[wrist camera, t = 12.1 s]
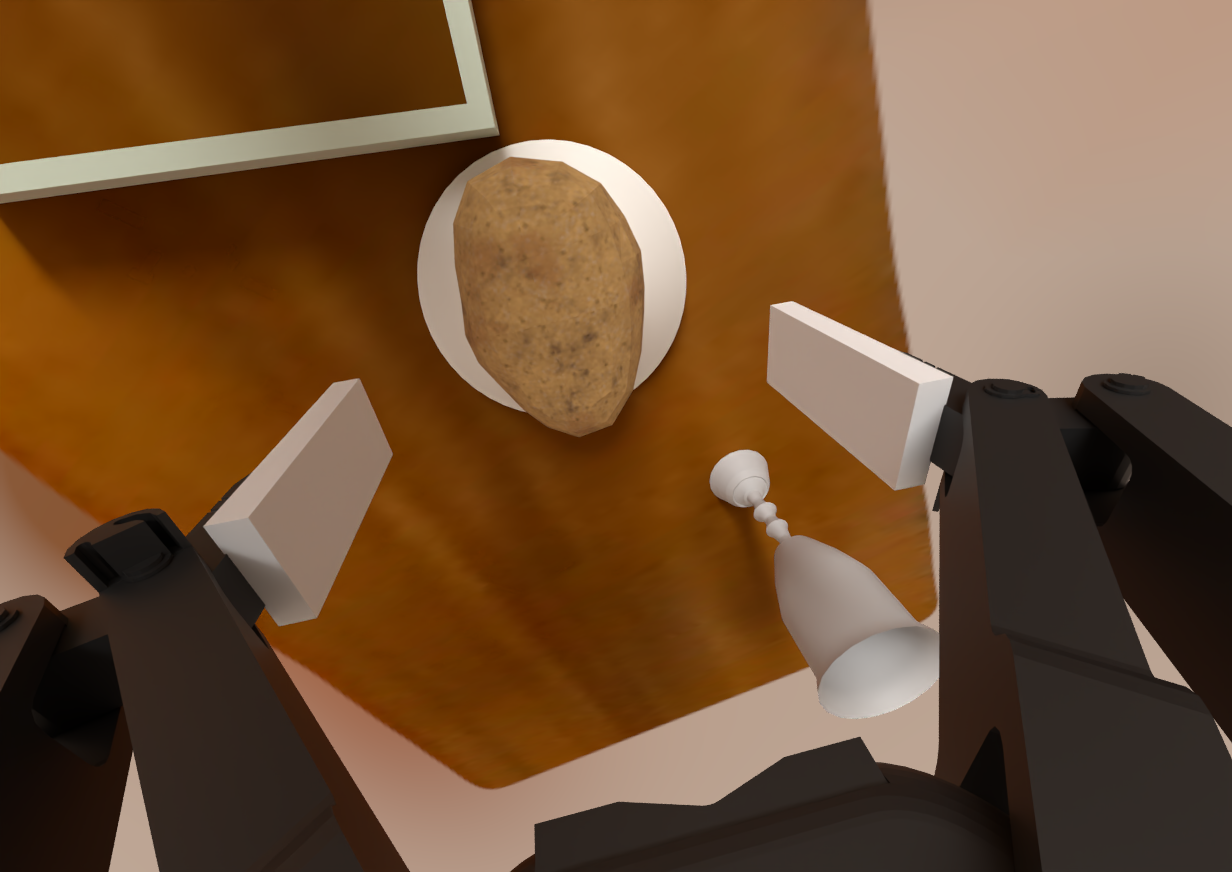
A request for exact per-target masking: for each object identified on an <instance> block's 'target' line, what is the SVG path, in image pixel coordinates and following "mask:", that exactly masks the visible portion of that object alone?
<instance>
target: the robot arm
mask: <svg viewBox="0 0 1232 872" xmlns="http://www.w3.org/2000/svg"><path fill="white" fill-rule="evenodd" d="M767 382H768V383H769V384H770V385H771V386H772V387H773V388H775V389H776V390H777V391H778V392H779V393H780V394H782V395H783V396H784V397H785V398H786V399H788V400H789V401H790V402H791V403H792V404H793V405H795V406H796V407H797V408H798V409H799V410H800V411H802V412H803V413H804V414H805V415H806V416H808V417H809V418H810V419H811V420H812V421H813V422H815V423H816V424H817V425H818V426H819V427H821V428H822V429H823V430H824V431H825V432H826V433H828V434H829V435H830V436H831V437H832V438H833V439H835V440H836V441H837V442H838V443H839V444H841V445H842V446H843V447H844V448H845V449H846V450H848V451H849V452H850V453H851V454H852V455H853V456H855V457H856V458H857V459H858V460H859V461H861V462H862V463H863V464H864V465H865V466H866V467H868V468H869V469H870V470H871V471H872V472H874V473H875V474H876V475H877V476H878V477H879V478H881V479H882V480H883V481H884V482H885V483H886V484H888V485H889V486H890V487H891V488H892V489H894V490H900V489H904V488H909V487H913V486H918V485H922V484H925V481H926V478H927V474H928V470H929V466H930V463H931V462H932V463H934V464H935V465H937V466H938V467H940V468H941V469H942V470H944V472H943V476H942V479H941V483H940V486H939V489H938V493H937V496H936V500H935V503H934V507H933V510H932V511H937V512H938V511H939V509H940V568H939V569H940V570H939V572H940V573H939V574H940V575H939V577H940V578H939V581H940V582H939V750H938V759H937V765H936V770H935V775H934V776H933V775H931V774H928V773H925V772H922V771H918V770H915V769H912V768H908V767H905V766H898V765H893V764H888V763H881V762H875V761H874V759H873V758H872V756H871V754H870V752H869V751H868V749H867V747H866V746H865V744H864V742H863V741H862V739H861V737H857V738H853V739H850V740H846V741H842V742H839V743H835V744H831V745H828V746H824V747H820V748H817V749H813V750H809V751H805V752H801V753H798V754H794V755H790V756H787V757H784V758H782V759H781V760H779V761H778V762H776V763H775V764H774V765H772V766H770V767H769V768H767V769H766V770H764V771H763V772H761V773H760V774H758V775H757V776H755V777H754V778H752V779H751V780H749V781H748V782H746V783H745V784H743V785H742V786H740V787H739V788H737V789H736V790H734V791H733V792H732V793H730V794H728V795H727V796H725V797H724V798H722V799H721V800H719V801H718V802H716V803H714V804H711V805H707V806H694V805H673V804H651V803H630V802H616V803H612V804H609V805H605V806H601V807H597V808H594V809H590V810H586V811H583V812H579V813H575V814H571V815H568V816H564V817H560V818H557V819H553V820H549V821H545V822H542V823H538V824H535V854H534V855H532V856H531V857H529V858H527V859H526V860H524V861H523V862H521V863H520V864H519V865H518V866H517V867H515V868H514V869H513V870H512V871H511V872H1232V759H1231V756H1230V754H1229V752H1228V750H1227V748H1226V745H1225V743H1224V741H1223V739H1222V736H1221V734H1220V732H1219V730H1218V727H1217V725H1216V723H1215V721H1216V722H1217V723H1218V725H1219V726H1220V727H1221V729H1222V730H1223V731H1224V733H1225V734H1226V735H1227V737H1228V738H1229V739H1230V741H1231V742H1232V427H1230V426H1229V425H1227V424H1225V423H1224V422H1222V421H1221V420H1219V419H1218V418H1216V417H1215V416H1213V415H1211V414H1210V413H1208V412H1206V411H1205V410H1204V409H1202V408H1201V407H1199V406H1197V405H1196V404H1194V403H1192V402H1191V401H1190V400H1188V399H1186V398H1185V397H1183V396H1182V395H1180V394H1178V393H1177V392H1175V391H1174V390H1172V389H1171V388H1169V387H1167V386H1165V385H1163V384H1160V383H1158V382H1155V381H1152V380H1148V379H1145V377H1142V376H1138V375H1131V374H1124V373H1119V374H1097V375H1091V376H1088V377H1085V378H1084V379H1083V381H1082V382H1081V385H1080V387H1079V389H1078V392H1077V394H1076V396H1075V397H1074V398H1048V397H1047V395H1046V394H1045V393H1044V392H1043V391H1042V390H1041V389H1039V388H1037V387H1035V386H1032V385H1029V384H1026V383H1023V382H1019V381H1014V380H1009V379H984V380H977V381H975V382H973V383H971V382H968V381H966V380H964V379H962V378H960V377H958V376H955V375H953V374H951V373H949V372H947V371H945V370H943V369H940V368H935V366H934V365H932V364H930V363H927V362H923V361H922V360H921V359H919V358H917V357H915V356H912V355H910V354H908V353H905V352H900V351H897V350H895V349H893V348H891V347H889V346H887V345H884V344H882V343H880V342H878V341H876V340H874V339H872V338H870V337H867V336H865V335H863V334H861V333H859V332H857V331H855V330H853V329H850V328H848V327H846V326H844V325H842V324H840V323H838V322H835V321H833V320H831V319H829V318H827V317H825V316H823V315H821V314H818V313H816V312H814V311H812V310H810V309H808V308H806V307H804V306H801V305H799V304H797V303H795V302H793V301H791V302H786V303H780V304H775V305H770V326H769V348H768V369H767ZM392 455H393V453H392V451H391V449H390V446H389V444H388V442H387V440H386V437H385V435H384V433H383V431H382V428H381V426H380V424H379V421H378V419H377V417H376V415H375V412H374V410H373V408H372V406H371V403H370V401H369V399H368V397H367V394H366V392H365V390H364V387H363V385H362V383H361V381H360V378H358V379H352V380H347V381H341V382H335V383H333V384H332V385H331V386H330V387H329V388H328V389H327V390H326V392H325V393H324V394H323V395H322V396H321V397H320V398H319V399H318V400H317V401H316V403H315V404H314V405H313V406H312V407H311V408H310V409H309V410H308V411H307V412H306V414H305V415H304V416H303V417H302V418H301V419H300V420H299V421H298V422H297V423H296V425H295V426H294V427H293V428H292V429H291V430H290V431H289V432H288V433H287V435H286V436H285V437H284V438H283V439H282V440H281V441H280V442H279V443H278V444H277V446H276V447H275V448H274V449H273V450H272V451H271V452H270V453H269V454H268V455H267V457H266V458H265V459H264V460H263V461H262V462H261V463H260V464H259V465H258V466H257V468H256V469H255V470H254V471H253V472H252V473H250V474H249V475H247V476H246V477H244V478H243V479H241V480H240V481H239V482H237V483H236V484H234V485H233V486H232V487H231V489H230V490H229V491H228V492H227V493H226V494H225V495H224V496H223V497H222V498H221V499H222V501H218V503H217V504H216V505H215V506H214V507H213V508H212V509H211V512H210V513H207V514H206V515H205V517H204V518H203V519H202V520H201V521H200V522H199V523H198V524H197V525H196V526H195V527H194V528H193V529H192V531H191V532H190V533H189V534H188V535H187V536H186V537H185V536H184V535H183V533H182V532H181V531H180V530H179V528H178V527H177V526H176V525H175V523H174V522H173V521H172V520H171V518H170V517H169V516H168V515H167V513H166V512H165V511H163V510H161V509H145V510H141V511H137V512H133V513H129V514H127V515H124V516H122V517H119V518H116V519H114V520H111V521H109V522H107V523H105V524H103V525H101V526H99V527H97V528H95V529H93V530H92V531H90V532H89V533H87V534H86V535H84V536H83V537H81V538H80V539H78V540H77V541H76V542H75V543H74V544H73V545H72V546H71V547H70V548H68V549H67V551H66V553H65V556H64V559H65V560H66V561H67V562H68V563H69V564H70V565H71V566H72V567H73V568H74V569H76V571H77V572H78V573H79V574H80V575H81V576H83V577H84V578H85V579H86V580H87V581H88V582H89V583H90V584H91V585H92V586H93V587H94V588H95V589H96V590H97V591H98V592H99V595H100V596H99V597H97V598H94V599H91V600H89V601H86V602H83V603H81V604H78V605H75V606H73V607H70V608H67V609H65V610H62V611H59V610H58V609H57V608H56V607H55V606H53V605H52V604H51V603H50V602H49V601H48V600H47V599H45V597H42V596H40V595H30V596H22V597H19V598H17V599H13V600H10V601H7V602H4V603H2V604H0V872H108V871H109V867H110V861H111V856H112V852H113V847H114V842H115V837H116V832H117V827H118V821H119V817H120V812H121V807H122V802H123V797H124V792H125V786H126V782H127V776H128V772H129V767H130V761H131V757H132V752H134V757H135V761H136V766H137V771H138V775H139V780H140V784H141V789H142V794H143V798H144V803H145V807H146V812H147V817H148V821H149V826H150V830H151V835H152V839H153V844H154V849H155V854H156V858H157V862H158V867H159V871H160V872H410V871H409V869H408V868H407V866H406V865H405V863H404V861H403V860H402V858H401V857H400V855H399V853H398V852H397V850H396V849H395V847H394V845H393V844H392V842H391V840H390V839H389V837H388V835H387V834H386V832H385V831H384V829H383V827H382V826H381V824H380V823H379V821H378V819H377V818H376V816H375V815H374V813H373V811H372V810H371V808H370V807H369V805H368V803H367V802H366V800H365V798H364V797H363V795H362V793H361V792H360V790H359V789H358V787H357V785H356V784H355V782H354V781H353V779H352V777H351V776H350V774H349V772H348V771H347V769H346V767H345V766H344V764H343V763H342V761H341V760H340V758H339V756H338V755H337V753H336V751H335V750H334V749H333V747H332V745H331V743H330V742H329V740H328V739H327V737H326V735H325V734H324V732H323V730H322V729H321V727H320V725H319V724H318V722H317V721H316V719H315V717H314V716H313V714H312V712H311V711H310V709H309V708H308V706H307V704H306V703H305V701H304V699H303V698H302V696H301V695H300V693H299V691H298V690H297V688H296V687H295V685H294V683H293V682H292V680H291V678H290V677H289V675H288V674H287V672H286V671H285V669H284V667H283V666H282V664H281V662H280V661H279V659H278V658H277V656H276V654H275V652H274V651H273V649H272V648H271V646H270V644H269V643H268V641H267V640H266V638H265V636H264V635H263V633H262V632H261V631H260V630H259V628H258V627H257V626H256V625H255V622H256V621H257V619H258V617H259V616H260V614H261V612H262V610H263V609H264V607H265V609H266V610H267V611H268V612H269V614H270V615H271V616H272V618H273V619H274V620H275V622H276V623H277V624H278V626H283V625H287V624H292V623H296V622H301V621H306V620H310V619H315V618H317V617H318V615H319V613H320V611H321V608H322V606H323V604H324V602H325V600H326V598H327V595H328V593H329V591H330V589H331V587H332V585H333V582H334V580H335V578H336V576H337V574H338V572H339V569H340V567H341V565H342V563H343V561H344V559H345V557H346V554H347V552H348V550H349V548H350V546H351V544H352V541H353V539H354V537H355V535H356V533H357V531H358V528H359V526H360V524H361V522H362V520H363V518H364V515H365V513H366V511H367V509H368V507H369V505H370V503H371V500H372V498H373V496H374V494H375V492H376V490H377V487H378V485H379V483H380V481H381V479H382V477H383V474H384V472H385V470H386V468H387V466H388V464H389V461H390V459H391V457H392ZM1129 479H1130V480H1129ZM1128 481H1129V482H1128ZM1123 598H1124V599H1123ZM1124 600H1125V601H1126V602H1127V604H1128V605H1129V606H1130V608H1131V609H1132V610H1133V612H1134V613H1135V614H1136V616H1137V617H1138V618H1139V620H1140V621H1141V622H1142V624H1143V625H1144V626H1145V628H1146V629H1147V630H1148V632H1149V633H1150V634H1151V636H1152V637H1153V638H1154V640H1155V641H1156V642H1157V644H1158V645H1159V646H1160V648H1161V649H1162V650H1163V652H1164V653H1165V654H1166V656H1167V657H1168V658H1169V660H1170V661H1171V662H1172V664H1173V665H1174V666H1175V667H1176V669H1177V670H1178V671H1179V673H1180V674H1181V676H1182V677H1183V678H1184V680H1185V681H1186V682H1187V684H1188V685H1189V686H1190V688H1191V689H1192V690H1193V692H1192V691H1191V690H1190V689H1188V688H1187V687H1185V686H1182V685H1178V684H1175V683H1171V682H1168V681H1165V680H1161V679H1158V678H1155V677H1154V676H1153V674H1152V672H1151V670H1150V668H1149V665H1148V663H1147V660H1146V657H1145V654H1144V652H1143V649H1142V647H1141V644H1140V641H1139V639H1138V636H1137V633H1136V631H1135V628H1134V625H1133V623H1132V620H1131V617H1130V615H1129V612H1128V609H1127V607H1126V604H1125V602H1124ZM1213 718H1214V719H1215V721H1214V719H1213Z"/></svg>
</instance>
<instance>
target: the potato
mask: <svg viewBox="0 0 1232 872" xmlns="http://www.w3.org/2000/svg"><path fill="white" fill-rule="evenodd" d="M453 234H454V260H455V270H456V275H457V281H458V287H459V292H460V298H461V304H462V313H463V321H464V330H465V336H466V338H467V341H468V343H469V345H470V347H471V349H472V351H473V353H474V355H475V357H476V359H477V361H478V363H479V364H480V365H481V366H482V367H483V368H484V369H485V371H486V372H487V373H488V374H489V375H490V376H491V377H492V378H493V379H494V380H495V381H496V382H497V383H498V384H499V385H500V386H501V387H502V388H503V389H504V390H505V391H506V392H507V393H508V394H509V396H510V397H511V398H512V399H513V400H514V401H515V402H516V403H517V404H518V405H519V406H520V407H521V408H522V409H523V410H524V411H526V412H527V413H528V414H530V415H531V416H533V417H534V418H535V419H537V420H538V421H539V422H541V423H542V424H544V425H545V426H546V427H548V428H551V429H555V430H558V431H561V432H564V433H567V434H570V435H574V436H577V437H581V436H584V435H586V434H589V433H592V432H595V431H597V430H600V429H603V428H606V427H608V426H611V425H613V423H614V421H615V420H616V418H617V416H618V415H619V413H620V411H621V410H622V408H623V406H624V405H625V403H626V401H627V400H628V398H629V396H630V395H631V393H632V391H633V389H634V384H635V379H636V374H637V370H638V365H639V360H640V356H641V351H642V337H643V323H644V294H645V285H644V275H643V265H642V255H641V249H640V247H639V245H638V243H637V241H636V239H635V237H634V235H633V232H632V230H631V228H630V226H629V224H628V222H627V220H626V218H625V216H624V214H623V213H622V212H621V210H620V209H619V207H618V206H617V205H616V203H615V202H614V200H613V199H612V198H611V196H610V195H609V193H608V192H607V191H606V189H605V188H604V186H603V185H602V184H601V183H600V182H598V181H596V180H594V179H593V178H591V177H589V176H587V175H585V174H584V173H582V172H580V171H578V170H577V169H575V168H573V167H571V166H569V165H568V164H566V163H564V162H562V161H550V160H540V159H530V158H520V157H509V158H507V159H505V160H503V161H502V162H500V163H498V164H496V165H495V166H493V167H491V168H489V169H488V170H486V171H484V172H482V173H481V174H479V175H477V176H475V177H474V178H472V179H470V180H468V181H467V183H466V186H465V189H464V192H463V195H462V198H461V201H460V204H459V207H458V210H457V213H456V216H455V219H454V222H453Z"/></svg>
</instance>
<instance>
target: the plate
mask: <svg viewBox="0 0 1232 872" xmlns="http://www.w3.org/2000/svg"><path fill="white" fill-rule="evenodd" d="M509 157H520V158H530V159H540V160H550V161H562V162H564V163H566V164H568V165H569V166H571V167H573V168H575V169H577V170H578V171H580V172H582V173H584V174H585V175H587V176H589V177H591V178H593V179H594V180H596V181H598V182H600V183H601V184H602V185H603V186H604V188H605V189H606V191H607V192H608V193H609V195H610V196H611V198H612V199H613V200H614V202H615V203H616V205H617V206H618V207H619V209H620V210H621V212H622V213H623V214H624V216H625V218H626V220H627V222H628V224H629V226H630V228H631V230H632V232H633V235H634V237H635V239H636V241H637V243H638V245H639V247H640V249H641V255H642V265H643V275H644V285H645V294H644V323H643V337H642V351H641V356H640V360H639V365H638V370H637V374H636V379H635V384H634V389H635V388H636V387H638V386H639V385H640V384H641V383H642V382H643V381H644V380H646V379H647V378H648V376H649V375H650V374H651V373H652V372H653V371H654V370H655V369H656V368H657V366H658V365H659V363H660V362H661V361H662V359H663V358H664V356H665V355H666V353H667V351H668V350H669V348H670V346H671V344H672V342H673V340H674V338H675V335H676V333H677V330H678V328H679V325H680V321H681V318H682V314H683V310H684V303H685V296H686V269H685V260H684V254H683V250H682V246H681V242H680V238H679V236H678V233H677V230H676V228H675V225H674V223H673V221H672V219H671V217H670V215H669V213H668V211H667V209H666V208H665V206H664V204H663V203H662V202H661V200H660V199H659V197H658V196H657V195H656V193H655V192H654V190H653V189H652V188H651V187H650V186H649V185H648V184H647V183H646V182H645V181H644V180H643V179H642V178H641V177H640V176H639V175H638V174H637V173H635V172H634V171H633V170H632V169H630V168H629V167H628V166H627V165H625V164H624V163H622V162H621V161H619V160H617V159H616V158H614V157H612V156H611V155H609V154H607V153H605V152H602V151H600V150H597V149H595V148H592V147H590V146H586V145H582V144H578V143H574V142H570V141H561V140H550V139H549V140H533V141H526V142H521V143H517V144H512V145H509V146H506V147H504V148H501V149H498V150H496V151H493V152H491V153H489V154H487V155H486V156H484V157H482V158H481V159H479V160H477V161H476V162H474V163H473V164H471V165H470V166H469V167H468V168H466V169H465V170H464V171H463V172H462V173H460V174H459V175H458V176H457V177H456V178H455V179H454V181H453V182H452V183H451V184H450V185H449V186H448V187H447V188H446V189H445V191H444V192H443V194H442V195H441V197H440V198H439V200H438V201H437V203H436V205H435V206H434V208H433V210H432V212H431V214H430V217H429V219H428V221H427V223H426V226H425V229H424V232H423V236H422V239H421V243H420V249H419V256H418V263H417V283H418V291H419V299H420V304H421V307H422V311H423V315H424V319H425V321H426V324H427V326H428V329H429V331H430V334H431V336H432V338H433V339H434V341H435V343H436V345H437V347H438V348H439V350H440V352H441V353H442V354H443V356H444V357H445V359H446V360H447V361H448V363H449V364H450V365H451V366H452V368H453V369H454V370H455V371H456V372H457V373H458V374H459V375H460V376H461V377H462V378H463V379H464V380H465V381H467V382H468V383H469V384H470V385H471V386H473V387H474V388H475V389H476V390H478V391H479V392H481V393H483V394H484V395H486V396H487V397H489V398H491V399H493V400H495V401H497V402H499V403H501V404H503V405H505V406H508V407H511V408H513V409H516V410H519V411H524V410H523V409H522V408H521V407H520V406H519V405H518V404H517V403H516V402H515V401H514V400H513V399H512V398H511V397H510V396H509V394H508V393H507V392H506V391H505V390H504V389H503V388H502V387H501V386H500V385H499V384H498V383H497V382H496V381H495V380H494V379H493V378H492V377H491V376H490V375H489V374H488V373H487V372H486V371H485V369H484V368H483V367H482V366H481V365H480V364H479V363H478V361H477V359H476V357H475V355H474V353H473V351H472V349H471V347H470V345H469V343H468V341H467V338H466V336H465V330H464V321H463V313H462V304H461V298H460V292H459V287H458V281H457V275H456V270H455V260H454V234H453V222H454V219H455V216H456V213H457V210H458V207H459V204H460V201H461V198H462V195H463V192H464V189H465V186H466V183H467V181H468V180H470V179H472V178H474V177H475V176H477V175H479V174H481V173H482V172H484V171H486V170H488V169H489V168H491V167H493V166H495V165H496V164H498V163H500V162H502V161H503V160H505V159H507V158H509ZM634 389H633V390H634ZM524 412H526V411H524Z"/></svg>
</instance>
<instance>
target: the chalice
mask: <svg viewBox="0 0 1232 872" xmlns="http://www.w3.org/2000/svg"><path fill="white" fill-rule="evenodd" d="M710 486H711V490H712V491H713V493H714V494H715V495H716V496H717V497H719V498H720V499H722V500H725V501H726V502H728V503H731V504H732V505H734V506H737V507H751V506H754V508H755V511H754V518H755V519H756V520H758V521H760V522H765V523H766V526H767V529H766V532H767V534H768V536H770V537H773V538H775V539H776V540H777V541H778V542H780V545H779V546H778V547H777V549H776V551H775V555H774V565H775V586H776V591H777V596H778V601H779V606H780V611H781V616H782V620H783V622H784V624H785V625H786V627H787V629H788V630H789V632H790V634H791V635H792V637H793V639H794V641H795V642H796V644H797V646H798V647H799V649H800V651H801V653H802V654H803V656H804V658H805V659H806V661H807V663H808V664H809V666H810V668H811V669H812V671H813V673H814V675H815V676H816V679H817V689H818V696H819V702H820V704H821V705H822V706H823V708H824V709H825V710H826V711H827V712H828V713H831V714H833V715H835V716H838V717H841V718H852V719H858V718H867V717H874V716H877V715H881V714H884V713H887V712H890V711H893V710H895V709H897V708H899V707H901V706H903V705H905V704H907V703H909V702H911V701H913V700H914V699H916V698H917V697H918V696H920V695H921V694H922V693H923V692H925V691H926V690H927V689H929V688H930V687H931V686H932V685H933V684H934V682H935V681H936V680H937V679H938V678H939V633H938V632H937V631H935V630H934V629H931V628H930V627H928V626H925V625H923V624H921V623H919V622H917V621H916V620H915V619H914V618H913V617H912V615H911V614H910V613H909V612H908V611H907V610H906V609H905V608H904V607H903V605H902V604H901V603H900V602H899V601H898V600H897V599H896V598H895V596H894V595H893V594H892V593H891V592H890V591H889V590H888V589H887V588H886V586H885V585H884V584H883V583H882V582H881V581H880V580H879V579H878V577H877V576H876V575H875V574H874V573H873V572H872V571H871V570H870V569H869V568H867V567H866V566H864V565H863V564H862V563H860V562H858V561H856V560H855V559H853V558H851V557H850V556H848V555H846V554H844V553H843V552H841V551H839V550H838V549H836V548H833V547H831V546H828V545H826V544H823V543H821V542H818V541H816V540H814V539H811V538H809V537H806V536H793V537H791V536H790V534H789V532H788V530H787V528H788V524H787V522H786V521H784V520H781V519H778V518H777V517H776V515H775V514H776V506H775V505H774V504H773V503H770V502H765V501H764V500H763V499H764V497H765V496H766V494H767V492H768V490H769V486H770V481H769V474H768V466H767V462H766V460H765V459H764V457H763V456H762V455H760V454H759V453H757V452H755V451H751V450H739V451H736V452H733V453H730V454H728V455H727V456H725V457H724V458H722V459H721V460H720V461H719V462H718V463H717V464H716V465H715V467H714V469H713V471H712V473H711V476H710Z"/></svg>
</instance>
